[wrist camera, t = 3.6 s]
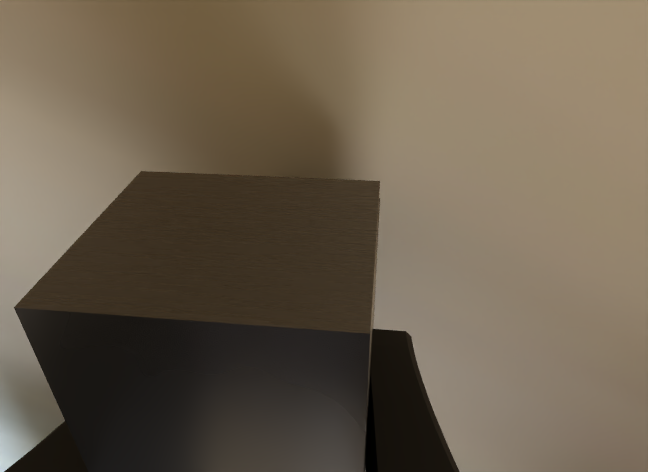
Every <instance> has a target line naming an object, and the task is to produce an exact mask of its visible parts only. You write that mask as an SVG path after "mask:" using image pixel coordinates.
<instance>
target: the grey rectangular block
mask: <svg viewBox="0 0 648 472" xmlns="http://www.w3.org/2000/svg"><path fill="white" fill-rule="evenodd" d="M379 189H380V181H361V180H337V179H314V178H290V177H266V176H242V175H218V174H194V173H170V172H147V171H141V172H140V173H139V174H138V175H137V176H136V177H135V178H134V180H133V181H132V182H131V183H130V184H129V185H128V186H127V187H126V188H125V189H124V190H123V191H122V192H121V193H120V195H119V196H118V197H117V198H116V199H115V200H114V201H113V202H112V203H111V204H110V205H109V206H108V207H107V208H106V210H105V211H104V212H103V213H102V214H101V215H100V216H99V217H98V218H97V219H96V220H95V221H94V222H93V223H92V225H91V226H90V227H89V228H88V229H87V230H86V231H85V232H84V233H83V234H82V235H81V236H80V237H79V238H78V240H77V241H76V242H75V243H74V244H73V245H72V246H71V247H70V248H69V249H68V250H67V251H66V252H65V253H64V255H63V256H62V257H61V258H60V259H59V260H58V261H57V262H56V263H55V264H54V265H53V266H52V267H51V268H50V270H49V271H48V272H47V273H46V274H45V275H44V276H43V277H42V278H41V279H40V280H39V281H38V282H37V283H36V285H35V286H34V287H33V288H32V289H31V290H30V291H29V292H28V293H27V294H26V295H25V296H24V297H23V298H22V300H21V301H20V302H19V303H18V304H17V305H16V306H15V307H14V308H15V311H16V313H17V315H18V317H19V319H20V322H21V324H22V326H23V328H24V331H25V333H26V335H27V337H28V339H29V342H30V344H31V346H32V348H33V350H34V353H35V355H36V357H37V359H38V361H39V364H40V366H41V368H42V370H43V372H44V375H45V377H46V379H47V381H48V383H49V386H50V388H51V390H52V392H53V395H54V397H55V399H56V401H57V403H58V406H59V408H60V410H61V412H62V414H63V417H64V419H65V421H66V423H67V425H68V428H69V430H70V432H71V434H72V436H73V439H74V441H75V443H76V445H77V447H78V450H79V452H80V454H81V456H82V459H83V461H84V463H85V465H86V467H87V470H88V472H365V468H366V445H367V425H368V406H369V386H370V366H371V350H372V333H373V322H374V303H375V284H376V265H377V245H378V226H379V207H380V198H379Z"/></svg>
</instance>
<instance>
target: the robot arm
mask: <svg viewBox="0 0 648 472" xmlns="http://www.w3.org/2000/svg"><path fill="white" fill-rule="evenodd" d="M4 472H88V470H87V467H86V465H85V463H84V461H83V459H82V456H81V454H80V452H79V450H78V447H77V445H76V443H75V441H74V439H73V436H72V434H71V432H70V430H69V428H68V425H67V423H66V421H64V422H63V423H62V424H61V425H60V426H59V427H58V428H56V429H55V430H54V431H53V432H52V433H51V434H49V435H48V436H47V437H46V438H45V439H44V440H42V441H41V442H40V443H39V444H38V445H37V446H35V447H34V448H33V449H32V450H31V451H29V452H28V453H27V454H26V455H24V456H23V457H22V458H21V459H19V460H18V461H17V462H16V463H15V464H13V465H12V466H11V467H9V468H8V469H7V470H6V471H4ZM366 472H459V469H458V467H457V465H456V463H455V461H454V459H453V456H452V454H451V452H450V450H449V447H448V445H447V443H446V440H445V438H444V436H443V433H442V431H441V428H440V426H439V424H438V421H437V419H436V416H435V414H434V411H433V409H432V406H431V404H430V401H429V398H428V395H427V393H426V390H425V387H424V384H423V381H422V378H421V375H420V371H419V368H418V365H417V361H416V357H415V353H414V349H413V344H412V338H411V336H410V335H409V334H408V333H407V332H406V331H393V330H379V329H373V333H372V350H371V366H370V386H369V406H368V425H367V445H366Z"/></svg>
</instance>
